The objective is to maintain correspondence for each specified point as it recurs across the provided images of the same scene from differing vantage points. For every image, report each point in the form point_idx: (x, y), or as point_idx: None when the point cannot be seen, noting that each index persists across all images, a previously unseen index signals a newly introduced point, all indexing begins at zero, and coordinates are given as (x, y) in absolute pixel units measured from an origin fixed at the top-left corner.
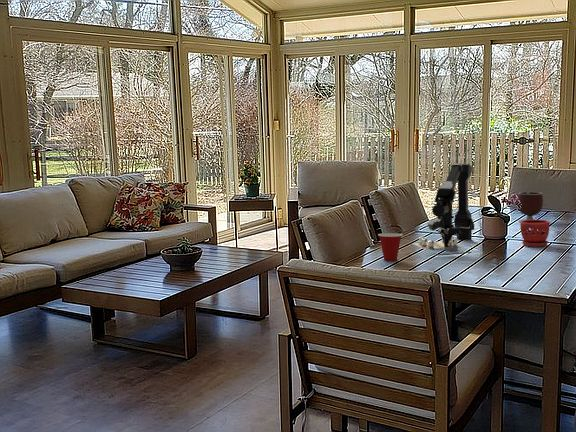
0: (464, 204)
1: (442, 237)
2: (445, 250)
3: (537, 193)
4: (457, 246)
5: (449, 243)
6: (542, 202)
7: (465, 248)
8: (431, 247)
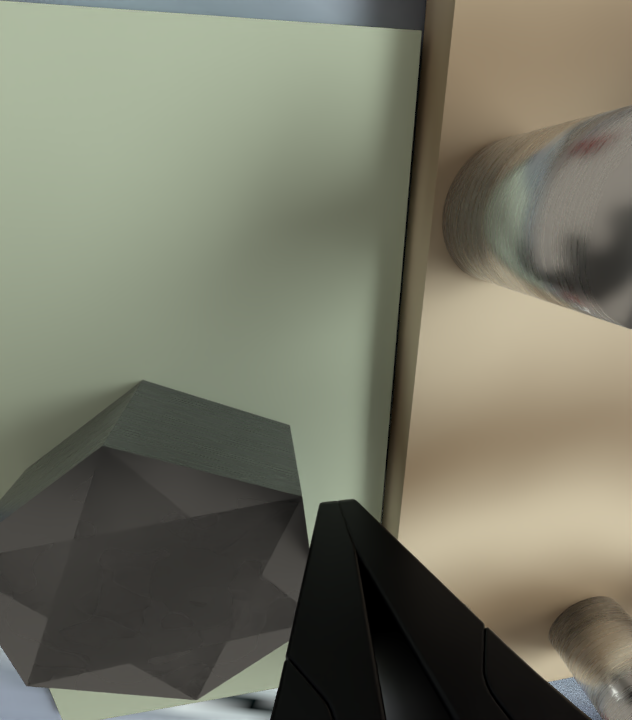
0: None
1: (497, 704)
2: (109, 416)
3: None
4: None
5: (589, 615)
6: None
7: None
8: (461, 196)
